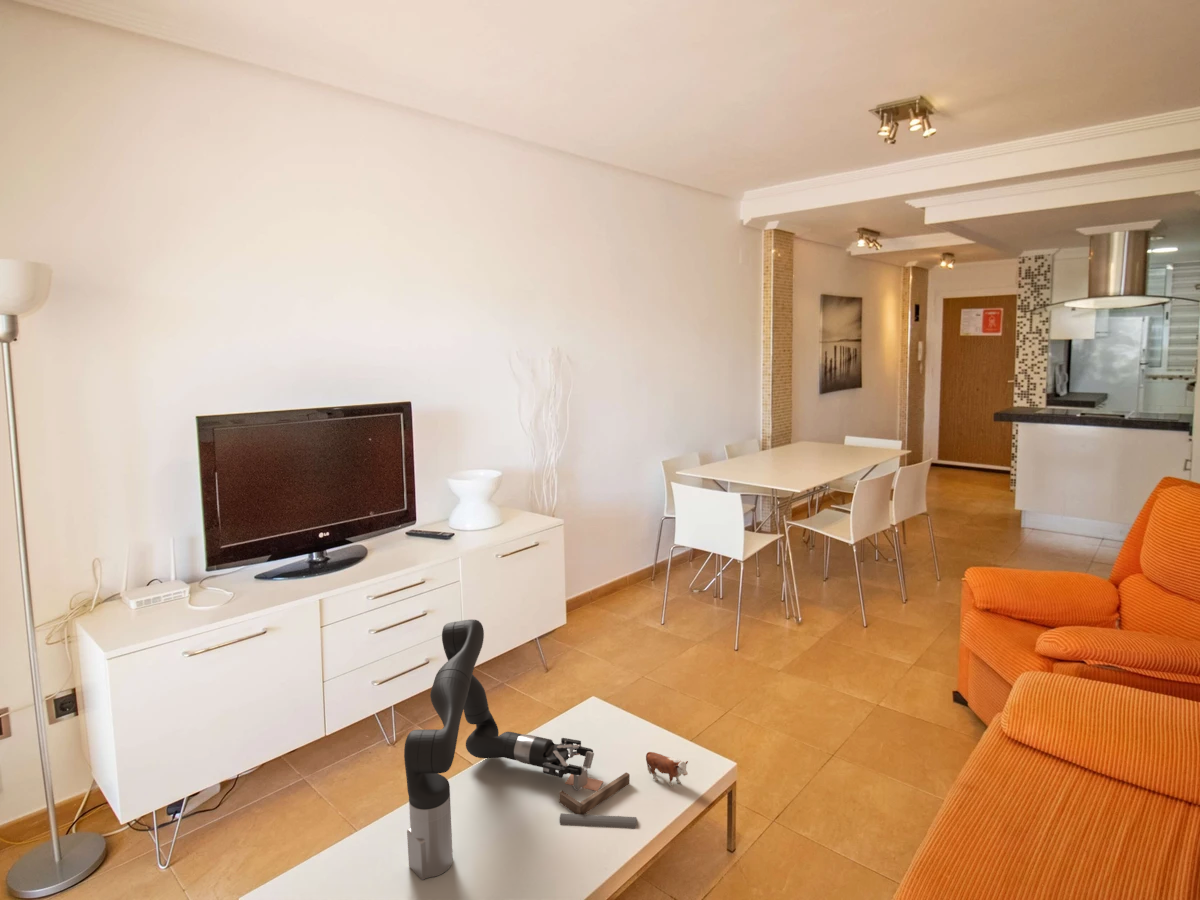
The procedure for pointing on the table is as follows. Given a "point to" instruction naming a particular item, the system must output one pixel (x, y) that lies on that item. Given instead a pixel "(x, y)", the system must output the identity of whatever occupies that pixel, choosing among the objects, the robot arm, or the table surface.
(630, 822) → the gray half cylinder
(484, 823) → the table surface
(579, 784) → the lighter
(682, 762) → the bull figurine
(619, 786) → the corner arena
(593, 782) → the pad
